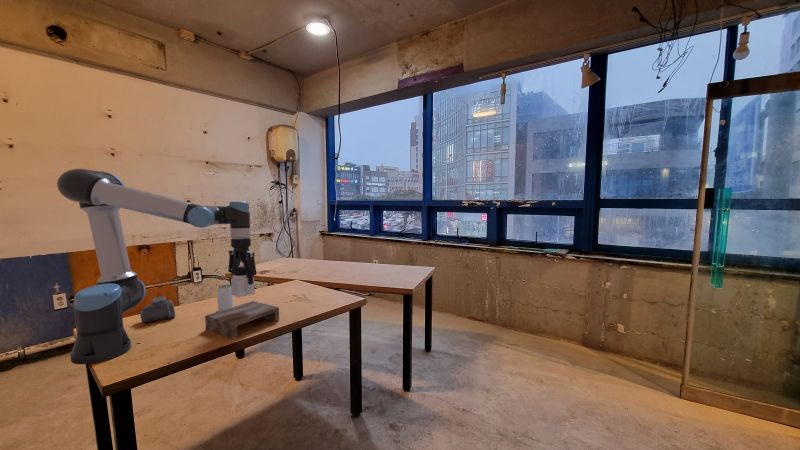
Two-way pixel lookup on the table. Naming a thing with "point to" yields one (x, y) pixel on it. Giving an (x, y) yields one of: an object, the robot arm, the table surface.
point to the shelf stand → (239, 317)
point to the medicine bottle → (240, 283)
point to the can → (224, 297)
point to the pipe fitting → (157, 310)
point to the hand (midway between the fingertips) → (242, 290)
